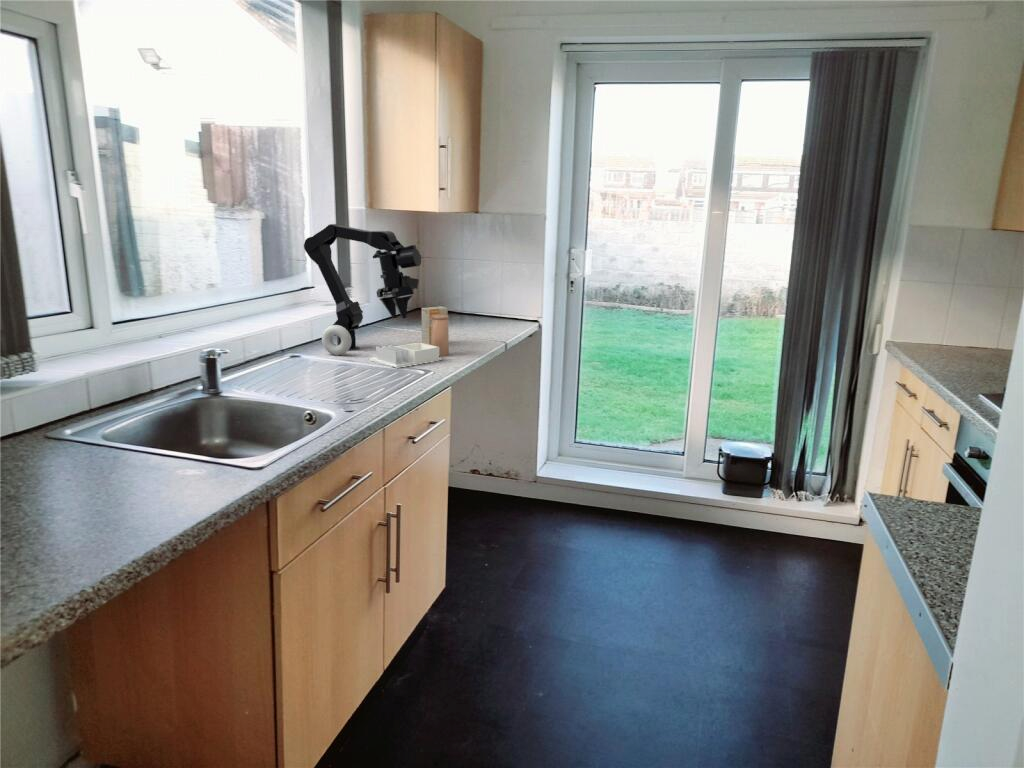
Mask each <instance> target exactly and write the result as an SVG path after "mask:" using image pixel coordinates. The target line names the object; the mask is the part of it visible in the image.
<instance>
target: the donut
mask: <svg viewBox="0 0 1024 768" xmlns="http://www.w3.org/2000/svg"><path fill="white" fill-rule="evenodd" d="M334 336H336V337H337V336H339V337H340V339H341V343H340V345H337V344H335V343H334V341H333V338H334ZM351 342H352V340H351V336H350V334H349V332H348V331H347V330H346V329H345V328H344V327H342V326H339V325H333V324H332V325H329V326H328V327H326V328H325V330H324V331H323V333H322V335H321V344H322V346H323V348H324V349H325V350H326V351H327V353H329V354H331V355H333V354H334V356H341V355H345V354H347V352H348V351H350V350H349V349H350V347H351Z"/></svg>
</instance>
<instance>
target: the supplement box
mask: <svg viewBox="0 0 1024 768" xmlns="http://www.w3.org/2000/svg"><path fill="white" fill-rule="evenodd" d="M448 311H449V310H448V307H446V306H431V307H421V343H424V344H429V345H432V328H431V316H432V315H448ZM448 316H449V315H448Z"/></svg>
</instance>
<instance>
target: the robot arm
mask: <svg viewBox="0 0 1024 768" xmlns="http://www.w3.org/2000/svg"><path fill="white" fill-rule="evenodd" d="M338 238H339V239H345V240H348V241H349V240H350V241H355V242H358V243H364V244H367V245H368V246H370V247H371V248H375V249H376V251H375V253H374V254H373V255H372V259H378V260H379V264H380V270H381V274H380V279H382V280H383V285H384V287H381V288H378V289H377V291H376V296H377V298H379V301H381V303H382V304H383V306H384V307H385V309H386V310H387V312H388V313H389V314H390V316H391V318H393V319H394V318H397V310H398V312H399V314H400V316H401V317H402V319H406V318H407V314H408V304H409V303H408V302H409V301H410V299H411V298H413V296H414V294H415V292H414V290H415V289H416V290H418V288H419V281H420V279H418V278H414V277H413V278H412V277H411V276H410V275H404V273H403V272H402V271H401V269H408V268H415V267H420V266H421V264H422V255H421V254H420V251H419V249H417V245H416V244H413V245H411V244H410V245H408V246H404V245H403V244H402V243H401V242H400V241H399V240H398V239H397V236H396V235H395V232H393V231H391V230H365V229H361V228H355V227H351V226H345V225H340V224H338V223H332V224H328V225H327V226H326V227H324V228H323V229H321V230H320V231H318V232H317V233H314V235H313V236H310V237H307V238H306V239H305V241H304V244H303V249H304V251H305V252H306V254H307V256H308V257H309V258H310V259H311V261H313V262H314V263H315V264H316V265H317V266H318V268H319V270H320V272H321V275H322V277H323V279H324V282H325V283H326V286H327V288H328V290H329V292H330V294H331V297H332V298H333V299H332V300H333V301H334V302H335V307H336V308H335V310H336V311H335V313H336V318H337V320H336V321H335V322H334V323H333V324H332V325H339V326H342V327H344V328H345V329H346V330H347V331H348V332H349V334H350V336H351V340H352V342H351V347H350V349H349V350H348V351H350V350H351V349H352V350H356V349H357V350H358V349H360V346H357V341H356V330H359V327H360V324H361V323H362V322H363V319H364V316H363V313H364V311H363V310H362V308H361V306H360V303H359V301H355V302H354V301H353V300H352V299H351V298H350V297H349V294H348V293H347V291H346V288H345V286H344V284H343V281H342V280H341V279H342V278H340V275H339V273H338V271H337V269H336V267H335V264H334V263H333V261H332V260H333V259H332V247H331V246H332V245H333V244H334V243H335V242H336V241H337V239H338ZM392 252H395V253H392ZM400 268H401V269H400ZM336 339H337V341H336V343H337V344H336V345H340V343H341V339H340V337H339V336H337V335H336Z"/></svg>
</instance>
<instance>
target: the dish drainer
mask: <svg viewBox="0 0 1024 768" xmlns="http://www.w3.org/2000/svg"><path fill="white" fill-rule="evenodd" d="M375 348H376V356H373V357H369V361H370V360H371V361H375V362H378V363H383V364H386V365H390V366H394V367H402V366H409V365H414V364H420V363H425V362H431V361H437V362H440V361H439V360H442V361H443V357H439V347H437V346H433V345H429V344H424V343H422V342H414V343H408V344H407V343H406V344H403V345H396V346H395V345H390V344H388V345H387V346H385V345H382V346H381V347H380V346H376V347H375ZM371 361H370V362H371ZM378 363H377V364H378ZM431 363H432V362H431Z"/></svg>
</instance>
